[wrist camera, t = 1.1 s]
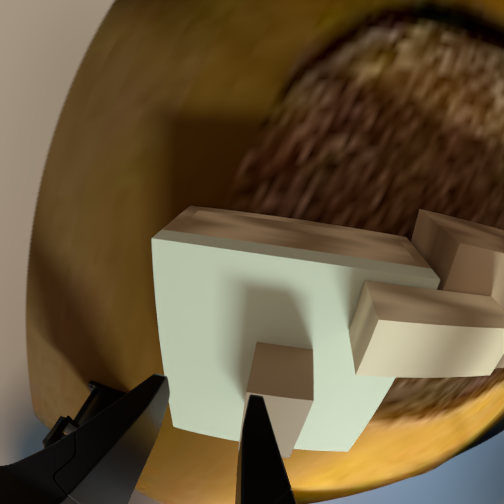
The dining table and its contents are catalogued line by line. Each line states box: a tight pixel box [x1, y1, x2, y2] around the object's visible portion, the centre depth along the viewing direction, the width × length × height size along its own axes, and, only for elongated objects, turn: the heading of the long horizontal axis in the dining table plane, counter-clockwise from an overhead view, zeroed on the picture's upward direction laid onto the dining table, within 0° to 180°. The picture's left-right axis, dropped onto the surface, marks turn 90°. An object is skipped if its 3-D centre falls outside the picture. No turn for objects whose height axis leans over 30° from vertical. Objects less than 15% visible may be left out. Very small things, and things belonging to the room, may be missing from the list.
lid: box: [152, 230, 440, 458], centre depth 16 cm, size 14×16×6 cm
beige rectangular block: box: [349, 280, 504, 378], centre depth 12 cm, size 8×3×3 cm, turn 85°
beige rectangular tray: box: [162, 206, 504, 368], centre depth 18 cm, size 26×18×6 cm
